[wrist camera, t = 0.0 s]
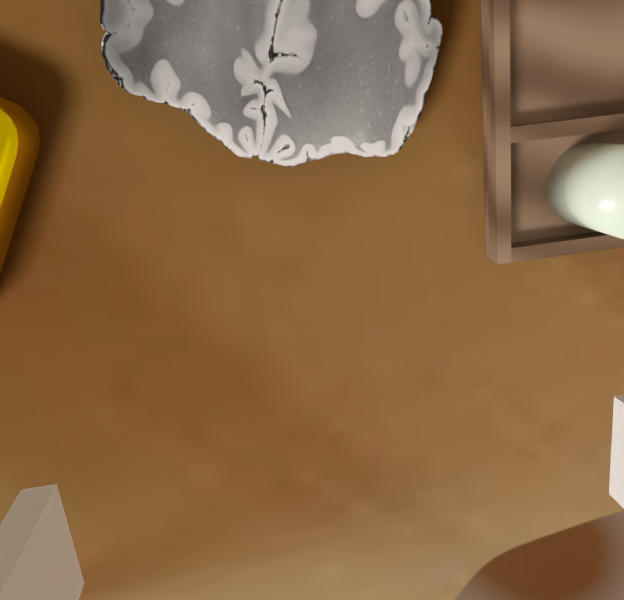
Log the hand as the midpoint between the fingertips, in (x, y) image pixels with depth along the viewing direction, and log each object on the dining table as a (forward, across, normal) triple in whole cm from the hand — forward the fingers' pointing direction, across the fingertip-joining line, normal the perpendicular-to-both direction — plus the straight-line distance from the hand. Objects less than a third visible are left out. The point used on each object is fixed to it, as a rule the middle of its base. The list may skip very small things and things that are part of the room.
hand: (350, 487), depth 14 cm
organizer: (+28, +22, +8) cm, 36 cm away
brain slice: (+28, +2, +14) cm, 32 cm away
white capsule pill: (+27, +22, +2) cm, 35 cm away
